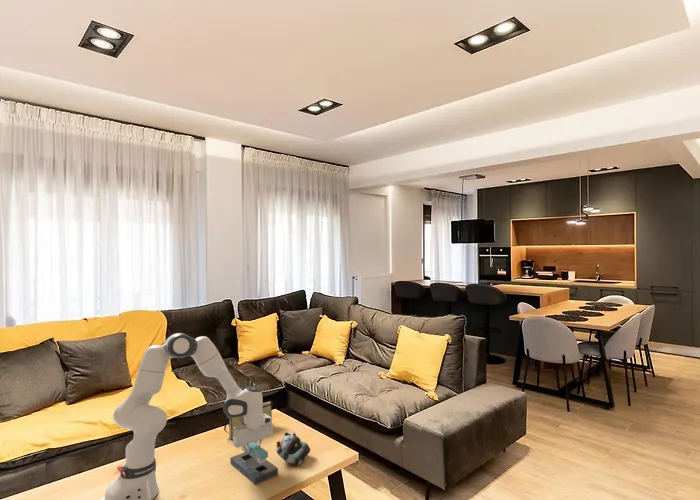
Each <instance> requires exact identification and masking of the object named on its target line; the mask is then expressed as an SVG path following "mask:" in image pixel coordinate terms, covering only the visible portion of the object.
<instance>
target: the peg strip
mask: <svg viewBox="0 0 700 500" xmlns="http://www.w3.org/2000/svg"><path fill="white" fill-rule="evenodd" d="M249 447H251V453H252V454H254V455H255V456H256V457H257V462H258V463H259V464H261V463H264V462H266V460H267V458H269V452H268V451H267V450H265V449H264V448H263V447H262V446H261V445H260V446H259V445H257V443H256V442H255V441H254V442H252V443H249ZM241 448H242V449H241V450H242V451H243V453H244V452H247V448H246V446H245V445H244V446H241Z"/></svg>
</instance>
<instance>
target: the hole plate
mask: <svg viewBox="0 0 700 500" xmlns="http://www.w3.org/2000/svg"><path fill="white" fill-rule="evenodd" d="M229 460H230V465H232V467H233V468H235V469H236V470H237V471H238V472H239V473H241V474H242V476H244V477H245V478H247V480H248V481H250V482H251V483H252V484H254V485H255V486H256V485H257V484H260V483H262V482H264V481H266V480H269V479H271V478H273V477H276V476H278V475H279V468H278V467H277V466H276V465H275V464H273V463H272V462H271V461H269V460H268V459H266V462H264V463H261V464H259V463H258V462H257V457H256V456H255V455H254V454H252V453H251V452H244V451H243V452H242V453H239V454H236V455H234V456H231V457H230V459H229Z"/></svg>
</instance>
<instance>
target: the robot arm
mask: <svg viewBox="0 0 700 500" xmlns="http://www.w3.org/2000/svg"><path fill="white" fill-rule="evenodd" d="M189 356H190V357H191V358H192V359H193V360H194V362H195V364H196V366H197V368H198V369H199V371H200V372H201V373H202V374H203V376H205V377H208V378H215V379H217V380H218V381H219V383H220V384H221V386H222V388H223V389H224V391H225V392H226V400H225V401H224V403H223V406H222V407H223V409H222V411H223V413H224V415H225V416H226V417H227V416H228V417H230V418H235V417H240V416H244V424H243V425H241V426H237V427H236V428H235V429H234V431H233V435H234V436H233V439H232V445H233V446H234V447H236V448H242V446H244V445H245V446H246V448H247V452H251V447H249V443H252V442H254V443H255V442H257V443H256V444H257V445H259V446H260V447H261V445H262V442H263V439H265V438H267V437H270V436H272V435H273V434H274V423H273V422H271V421H273V418H271V417H270V416H269V415H266V414H263V412H262V406H263V403H264V402H263V393H262V390H261V389H260V387H257V386H247V387H245V388H243V387H242V386H240V385H239V383H237V381H236V380H235V378H234V376H233V374H232V373H231V371H230V370H229V368H228V367H227V365H226V362H225V361H224V359H223V357H222V355H221V353H220V352H219V350H218V348H217V347H216V346H215V344H214V343H213V341H211V339H210V338H209V337H207V336H206V335H205V336H203V335H201V336H198V337H196V338H194V337H191V336H190V335H188V334H186V333H184V332H177V333H176V332H175V333H173V334H171V335H170V336H168V337H167V338H166V339H165V341H164V342H163V343H162V344H160V345H158V344H156V345H151V346H148V347H147V348H146V350H145V352H144V354H143V356H142V358H141V361H140V363H139V366H138V370H137V374H136V377H135V381H134V384H133V387H132V389H131V391H130V393H129V395H128V396H127V398H126V399H125V400H124V401H123V402H121V403H120V404H118V406H116V408H115V410H114V412H113V416H112V417H113V421H114V423H115V424H117V425H118V426H119V427H121V428H122V429H126V430H130V431H132V432H133V438H132V440H130V441H129V443H127V445H126V447H125V464H124V465H122V464H119V465H118V466H117V468H116V469H117V471H118V472H119V474H120V475H119V476H117V478H115V480H114V481H113V482H111V483H110V484H109V485H108V486H107V488H106V490H105V493H104V497H102V498H100V500H153V499H154V498H155V497H156V496H157V495H158V494H159V492H160V488H159V485H158V482H157V477H156V469H157V461H156V458H155V447H156V439H157V437H158V434H159V433H160V432H161V431H163V429H164V428H165V427H166V425H167V422H168V415H167V412H166V411H165V410H164V409H162V408H160V407H158V406H155V405H151V404H150V402H151V400H152V398H153V397H154V396H155V395H156V394H158V393H160V392H161V390H162V387H163V384H164V380H165V379H164V378H165V375H166V371H167V367H168V364H169V362H170V360H171V359H173V358H176V359H181V358H182V359H183V358H186V357H189ZM228 417H227V418H228Z"/></svg>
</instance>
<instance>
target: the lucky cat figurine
mask: <svg viewBox="0 0 700 500" xmlns="http://www.w3.org/2000/svg"><path fill="white" fill-rule="evenodd" d="M310 452H311V448H310V446H309V444H308V443H307V442H304V441H301V438H299V436H297V434H296V432H292V434H291V433H289V432H285V433H284V435H283V438H281V441H279V440H278V441H276V453H277V455H278V456H279V457H280V458H281V459H282V460H283V461H284V462H286V463H287V465H288V466H289V467H297V466H300V465H301V463H302V462H303V460H304V459H305V458H306V457H307V456H308V455H309V453H310Z"/></svg>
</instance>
